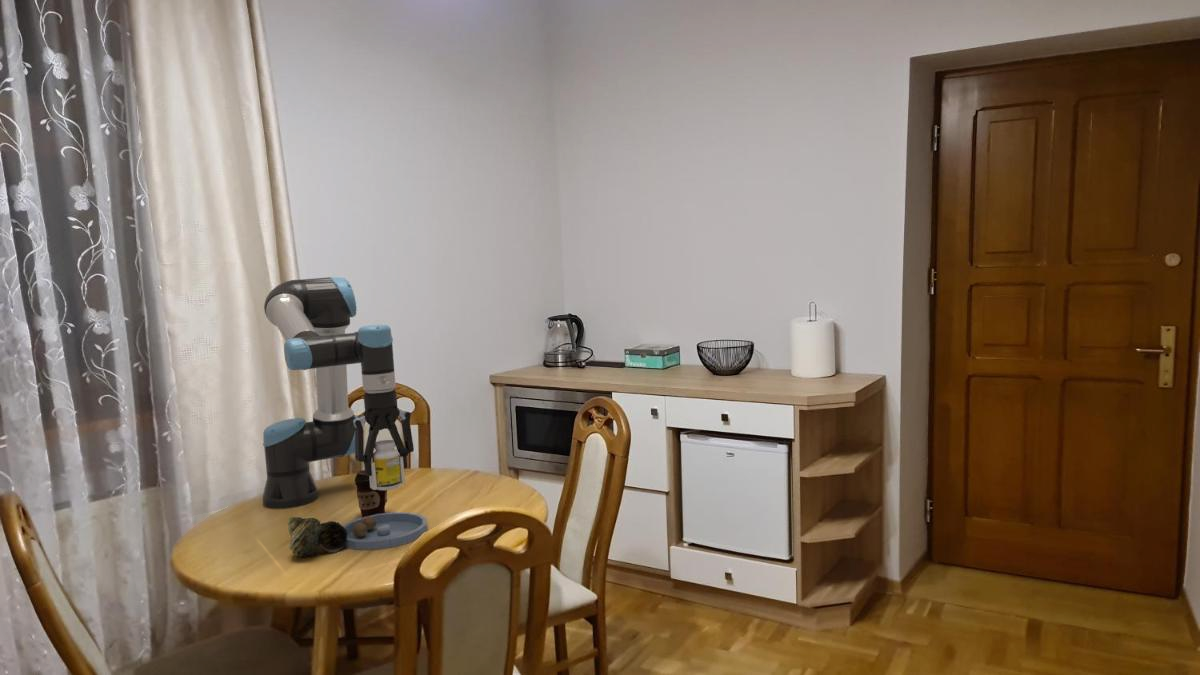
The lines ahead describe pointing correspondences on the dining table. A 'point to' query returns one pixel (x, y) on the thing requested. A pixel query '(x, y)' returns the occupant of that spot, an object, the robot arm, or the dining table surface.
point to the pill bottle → (386, 465)
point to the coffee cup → (369, 496)
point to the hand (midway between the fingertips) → (387, 485)
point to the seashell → (315, 536)
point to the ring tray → (398, 531)
